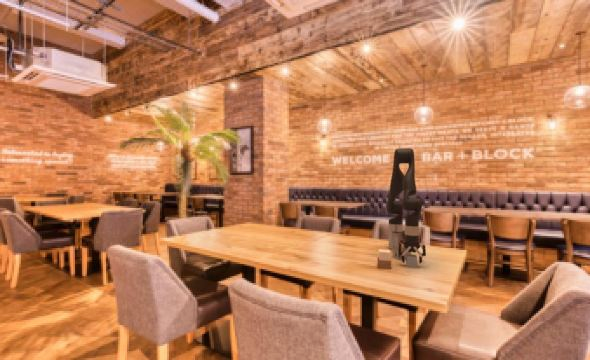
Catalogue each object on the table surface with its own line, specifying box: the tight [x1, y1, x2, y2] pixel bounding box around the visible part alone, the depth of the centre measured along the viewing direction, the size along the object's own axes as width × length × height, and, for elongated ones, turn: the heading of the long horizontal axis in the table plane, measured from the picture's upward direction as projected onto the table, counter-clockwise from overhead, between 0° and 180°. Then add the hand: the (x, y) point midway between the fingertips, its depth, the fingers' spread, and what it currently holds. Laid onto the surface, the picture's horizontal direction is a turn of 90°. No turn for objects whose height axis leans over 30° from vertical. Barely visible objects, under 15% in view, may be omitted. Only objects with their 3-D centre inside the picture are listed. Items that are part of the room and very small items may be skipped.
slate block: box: [405, 253, 418, 269], centre depth 164 cm, size 5×5×6 cm
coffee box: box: [391, 230, 412, 261], centre depth 180 cm, size 9×6×16 cm
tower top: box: [378, 248, 391, 261], centre depth 163 cm, size 6×6×4 cm
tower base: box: [377, 256, 392, 270], centre depth 163 cm, size 7×7×4 cm
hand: (411, 262), depth 164 cm, fingers open, 8 cm apart
